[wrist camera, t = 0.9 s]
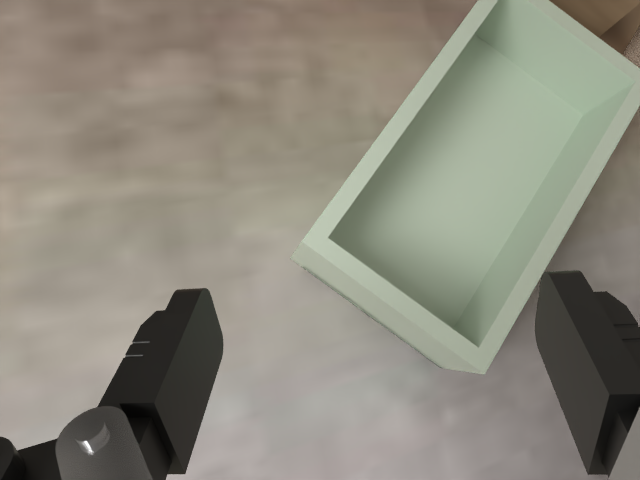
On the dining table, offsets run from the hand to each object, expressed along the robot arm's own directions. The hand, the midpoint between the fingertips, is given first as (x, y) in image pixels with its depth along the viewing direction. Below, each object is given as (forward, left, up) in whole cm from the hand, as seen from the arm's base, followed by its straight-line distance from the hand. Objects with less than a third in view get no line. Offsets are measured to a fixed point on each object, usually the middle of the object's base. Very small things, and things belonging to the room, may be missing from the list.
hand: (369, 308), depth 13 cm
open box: (-5, +14, -20) cm, 25 cm away
